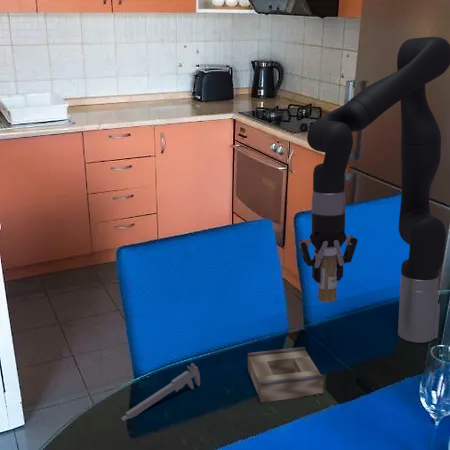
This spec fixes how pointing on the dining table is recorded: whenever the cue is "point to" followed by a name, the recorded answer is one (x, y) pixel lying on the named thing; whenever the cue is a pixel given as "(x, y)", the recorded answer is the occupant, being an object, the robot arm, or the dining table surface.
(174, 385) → the caliper
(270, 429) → the dining table surface
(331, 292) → the sprinkles bottle
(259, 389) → the block
